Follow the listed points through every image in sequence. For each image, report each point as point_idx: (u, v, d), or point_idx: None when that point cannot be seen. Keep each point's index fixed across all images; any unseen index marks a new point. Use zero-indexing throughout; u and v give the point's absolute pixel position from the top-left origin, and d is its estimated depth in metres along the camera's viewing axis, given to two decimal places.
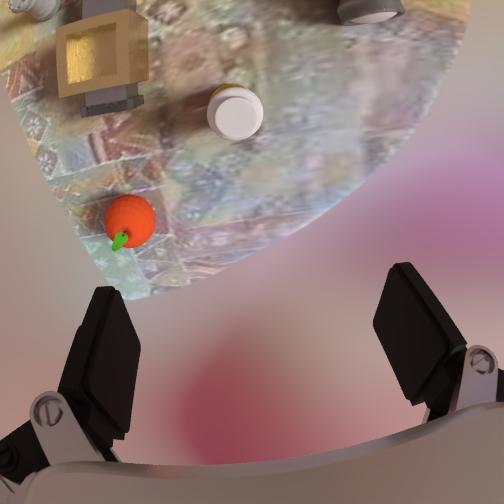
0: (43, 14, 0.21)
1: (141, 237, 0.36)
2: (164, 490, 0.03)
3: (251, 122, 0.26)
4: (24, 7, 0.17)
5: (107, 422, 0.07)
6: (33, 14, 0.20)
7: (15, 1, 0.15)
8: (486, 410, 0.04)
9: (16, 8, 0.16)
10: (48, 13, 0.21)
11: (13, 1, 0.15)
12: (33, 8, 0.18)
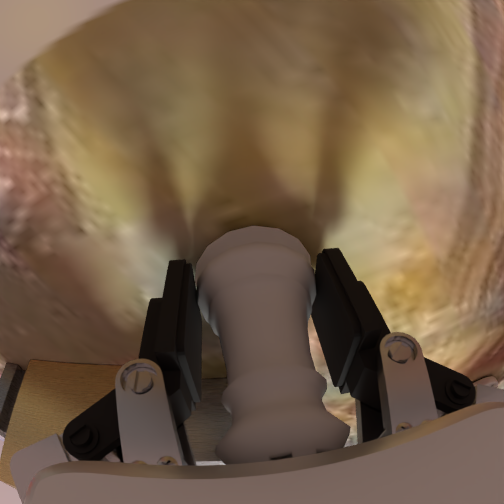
0: None
1: None
2: (164, 490, 0.03)
3: None
4: None
5: (187, 390, 0.08)
6: (219, 311, 0.09)
7: None
8: (486, 410, 0.04)
9: None
10: None
11: None
12: None
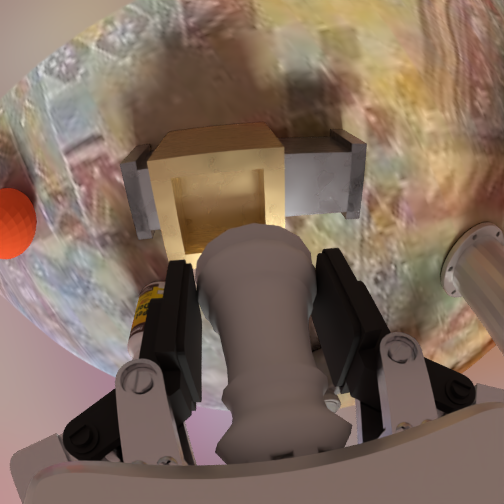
0: None
1: None
2: (164, 490, 0.03)
3: None
4: None
5: (187, 390, 0.08)
6: (219, 308, 0.09)
7: None
8: (486, 410, 0.04)
9: None
10: None
11: None
12: None
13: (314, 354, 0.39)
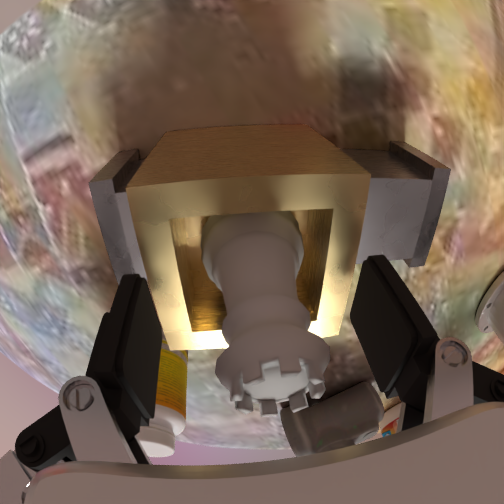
0: (213, 277, 0.12)
1: None
2: (163, 490, 0.03)
3: (147, 455, 0.18)
4: None
5: (135, 407, 0.07)
6: (220, 262, 0.11)
7: (278, 379, 0.07)
8: (486, 410, 0.04)
9: (237, 395, 0.07)
10: (214, 281, 0.13)
11: None
12: None
13: (333, 401, 0.32)
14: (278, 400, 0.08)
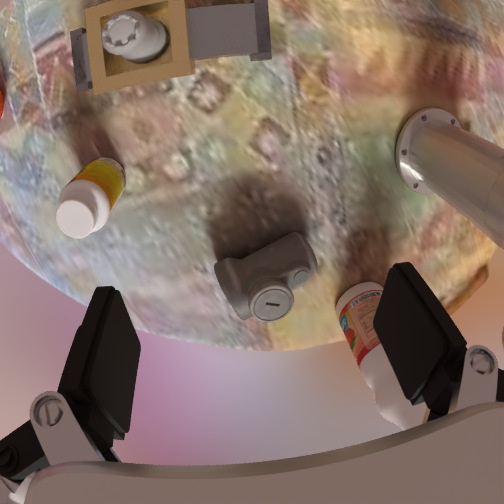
0: None
1: None
2: (164, 490, 0.03)
3: (74, 233, 0.24)
4: (106, 47, 0.15)
5: (107, 422, 0.07)
6: None
7: (121, 26, 0.14)
8: (486, 410, 0.04)
9: (104, 35, 0.14)
10: (121, 54, 0.19)
11: (123, 20, 0.13)
12: None
13: None
14: (124, 45, 0.14)
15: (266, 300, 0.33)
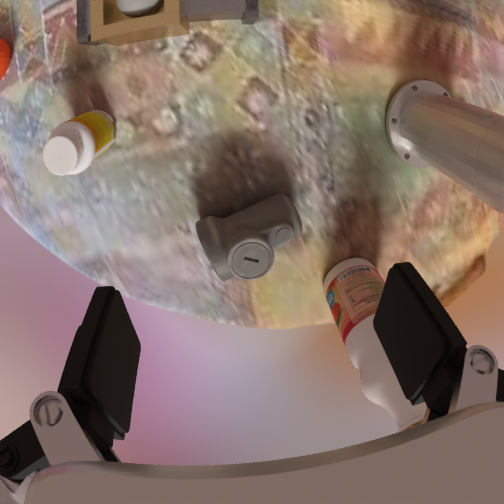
0: (118, 2, 0.18)
1: None
2: (163, 490, 0.03)
3: (58, 170, 0.24)
4: None
5: (107, 423, 0.07)
6: None
7: None
8: (486, 410, 0.04)
9: None
10: (119, 8, 0.18)
11: None
12: None
13: (247, 207, 0.37)
14: None
15: (244, 254, 0.32)
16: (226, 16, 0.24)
